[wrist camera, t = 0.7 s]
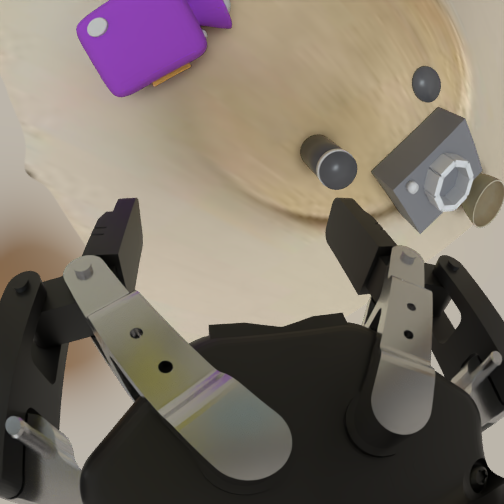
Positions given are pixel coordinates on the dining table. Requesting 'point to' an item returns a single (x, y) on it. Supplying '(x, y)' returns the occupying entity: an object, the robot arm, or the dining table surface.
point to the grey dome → (426, 84)
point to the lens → (329, 162)
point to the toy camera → (148, 39)
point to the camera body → (430, 169)
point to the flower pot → (484, 200)
